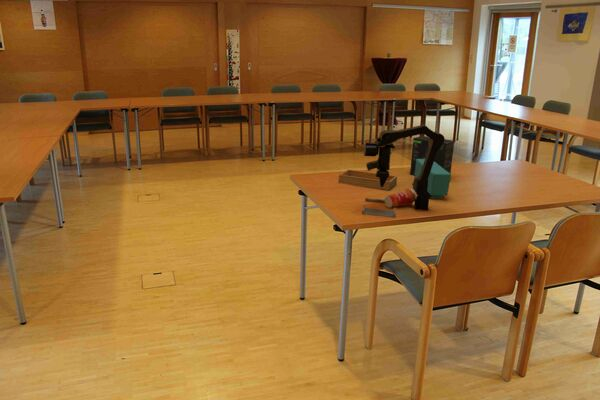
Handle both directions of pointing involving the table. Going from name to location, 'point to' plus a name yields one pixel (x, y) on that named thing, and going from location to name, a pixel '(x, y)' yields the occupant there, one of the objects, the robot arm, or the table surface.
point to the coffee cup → (400, 198)
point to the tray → (366, 179)
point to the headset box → (442, 155)
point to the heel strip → (374, 200)
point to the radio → (435, 179)
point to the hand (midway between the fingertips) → (381, 186)
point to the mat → (379, 212)
